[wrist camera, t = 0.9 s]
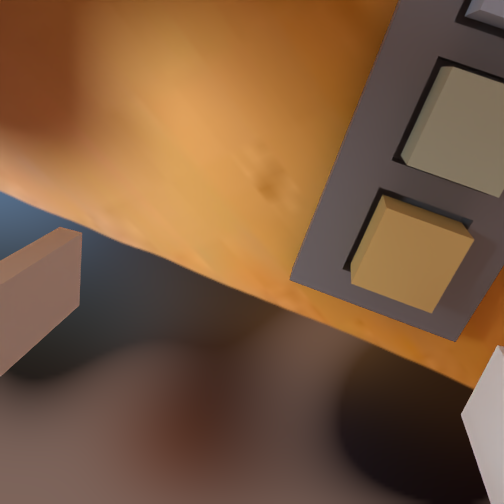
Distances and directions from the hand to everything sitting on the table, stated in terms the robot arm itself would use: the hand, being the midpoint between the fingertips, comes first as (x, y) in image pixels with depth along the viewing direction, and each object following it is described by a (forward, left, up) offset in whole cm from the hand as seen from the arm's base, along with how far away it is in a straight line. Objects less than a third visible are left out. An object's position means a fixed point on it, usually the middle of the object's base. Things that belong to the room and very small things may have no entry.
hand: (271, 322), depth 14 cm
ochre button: (+8, -3, -21) cm, 23 cm away
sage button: (+8, +6, -21) cm, 23 cm away
